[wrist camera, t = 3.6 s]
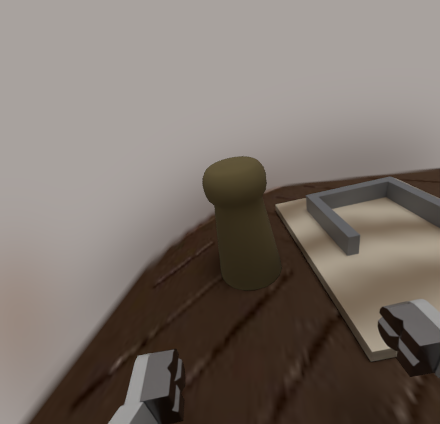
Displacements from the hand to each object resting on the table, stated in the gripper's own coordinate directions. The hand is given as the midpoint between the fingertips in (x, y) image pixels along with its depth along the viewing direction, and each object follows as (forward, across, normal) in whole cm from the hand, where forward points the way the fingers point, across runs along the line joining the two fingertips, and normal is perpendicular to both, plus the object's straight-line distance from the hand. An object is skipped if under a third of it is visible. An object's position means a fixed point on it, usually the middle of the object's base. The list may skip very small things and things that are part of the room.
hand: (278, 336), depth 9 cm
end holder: (+14, -14, +6) cm, 21 cm away
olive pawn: (+12, 0, +7) cm, 14 cm away
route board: (+12, -14, +7) cm, 20 cm away
